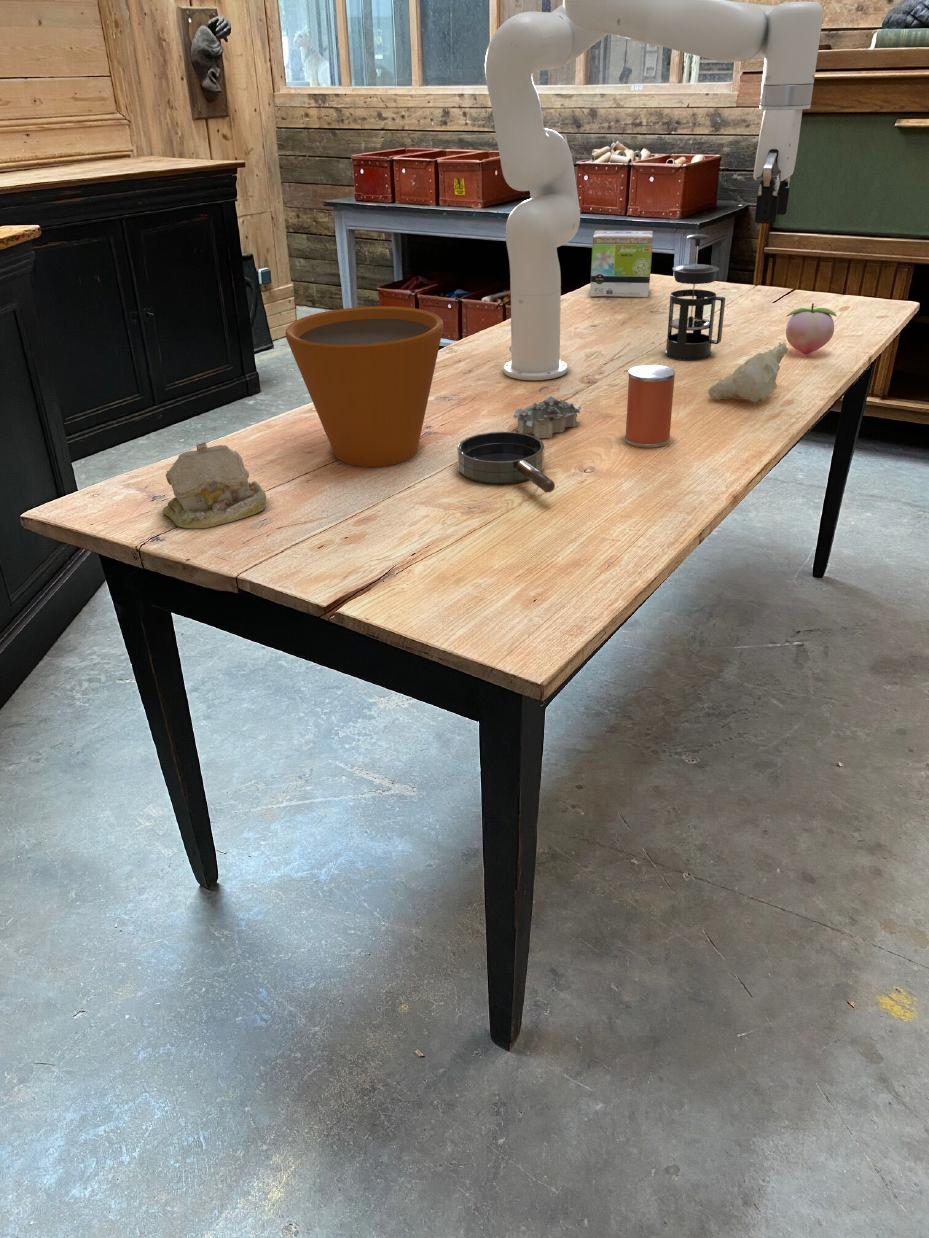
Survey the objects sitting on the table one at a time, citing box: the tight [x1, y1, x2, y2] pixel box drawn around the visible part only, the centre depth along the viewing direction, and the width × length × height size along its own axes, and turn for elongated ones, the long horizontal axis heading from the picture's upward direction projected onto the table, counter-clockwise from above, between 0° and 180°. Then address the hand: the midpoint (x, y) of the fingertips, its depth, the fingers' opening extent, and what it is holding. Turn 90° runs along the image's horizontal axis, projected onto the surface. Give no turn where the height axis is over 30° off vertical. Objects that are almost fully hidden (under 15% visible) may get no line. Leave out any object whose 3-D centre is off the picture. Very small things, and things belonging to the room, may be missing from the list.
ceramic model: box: [162, 441, 267, 529], centre depth 131 cm, size 14×11×10 cm
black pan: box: [456, 431, 546, 485], centre depth 142 cm, size 13×13×4 cm
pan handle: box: [516, 460, 556, 493], centre depth 132 cm, size 10×2×2 cm, turn 23°
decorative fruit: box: [785, 303, 838, 355], centre depth 188 cm, size 9×8×10 cm
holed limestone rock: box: [707, 342, 789, 403], centre depth 166 cm, size 15×7×15 cm
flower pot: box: [285, 305, 444, 468], centre depth 147 cm, size 24×24×20 cm
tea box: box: [589, 230, 654, 299], centre depth 240 cm, size 15×10×15 cm, turn 80°
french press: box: [664, 233, 726, 362], centre depth 187 cm, size 12×9×23 cm
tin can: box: [624, 364, 676, 449], centre depth 148 cm, size 7×7×11 cm
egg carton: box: [512, 395, 582, 440], centre depth 157 cm, size 11×8×4 cm
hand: (770, 218), depth 152 cm, fingers open, 9 cm apart
